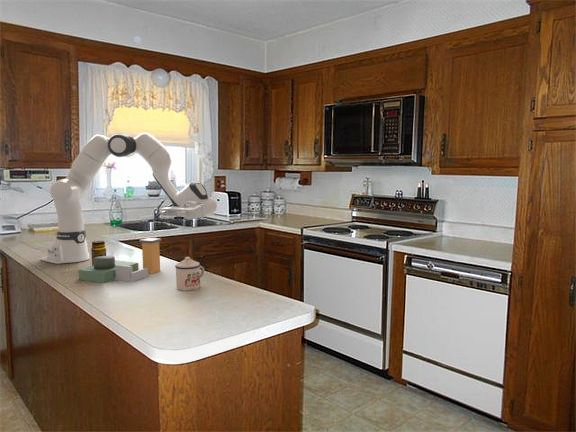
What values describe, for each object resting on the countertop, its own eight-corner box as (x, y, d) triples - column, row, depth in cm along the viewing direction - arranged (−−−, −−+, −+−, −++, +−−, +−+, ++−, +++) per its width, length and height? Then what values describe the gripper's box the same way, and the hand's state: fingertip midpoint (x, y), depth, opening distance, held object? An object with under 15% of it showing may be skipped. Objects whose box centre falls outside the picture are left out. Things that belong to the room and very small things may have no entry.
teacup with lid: (186, 292, 161) (185, 261, 160) (170, 288, 167) (169, 257, 165) (211, 285, 170) (211, 255, 169) (196, 281, 176) (195, 252, 174)
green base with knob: (78, 279, 179) (77, 259, 179) (114, 269, 197) (113, 251, 196) (121, 285, 170) (120, 264, 170) (155, 274, 188) (154, 255, 187)
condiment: (109, 268, 197) (108, 242, 196) (88, 271, 193) (87, 243, 191) (105, 265, 203) (104, 239, 202) (85, 268, 199) (84, 241, 197)
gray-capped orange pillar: (140, 272, 191) (139, 240, 189) (150, 269, 197) (149, 237, 195) (152, 273, 188) (151, 241, 186) (162, 270, 194) (161, 238, 192)
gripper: (173, 203, 216) (152, 206, 204) (206, 203, 206) (185, 207, 194) (174, 216, 217) (153, 220, 205) (207, 217, 207) (186, 222, 195)
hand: (169, 214), depth 199 cm, fingers open, 8 cm apart
